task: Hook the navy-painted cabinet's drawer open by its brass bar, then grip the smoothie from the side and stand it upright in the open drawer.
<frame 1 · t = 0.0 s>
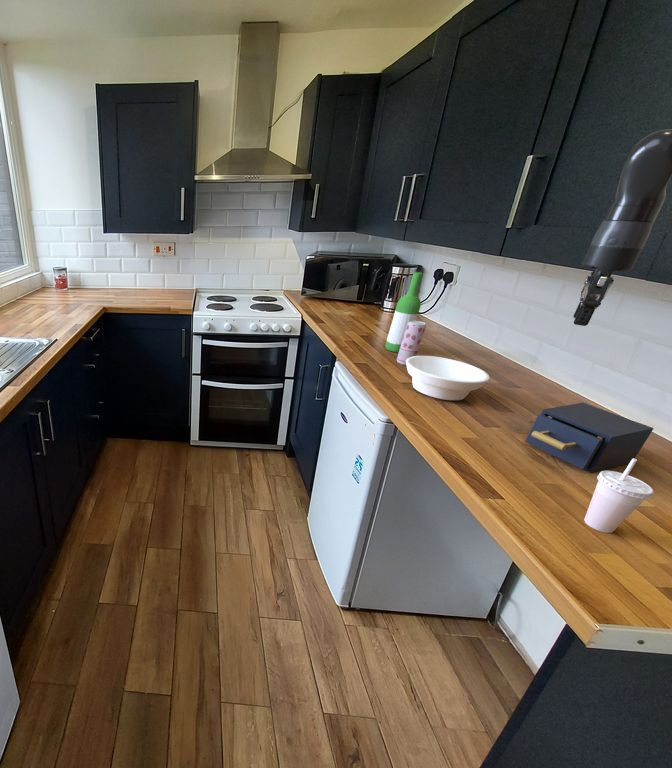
hand: (579, 321, 89), 29 cm above the worktop, tool pointing down, fingers open, 8 cm apart
cabinet: (577, 452, 94), on the worktop
drawer: (572, 438, 90), point 5 cm above the worktop, slide at 1.0 cm
smoothie: (597, 526, 72), on the worktop
wine bottle: (395, 350, 158), on the worktop
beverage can: (404, 363, 146), on the worktop
bowl: (437, 393, 122), on the worktop
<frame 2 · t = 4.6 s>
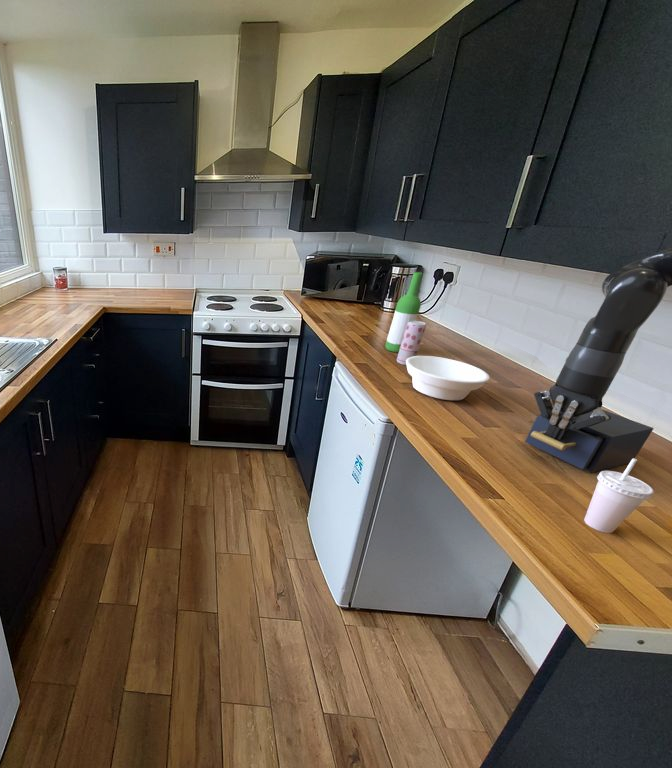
hand: (552, 440, 88), 5 cm above the worktop, tool pointing down, fingers closed
drawer: (571, 438, 90), point 5 cm above the worktop, slide at 1.1 cm, touching gripper
everything else where it was.
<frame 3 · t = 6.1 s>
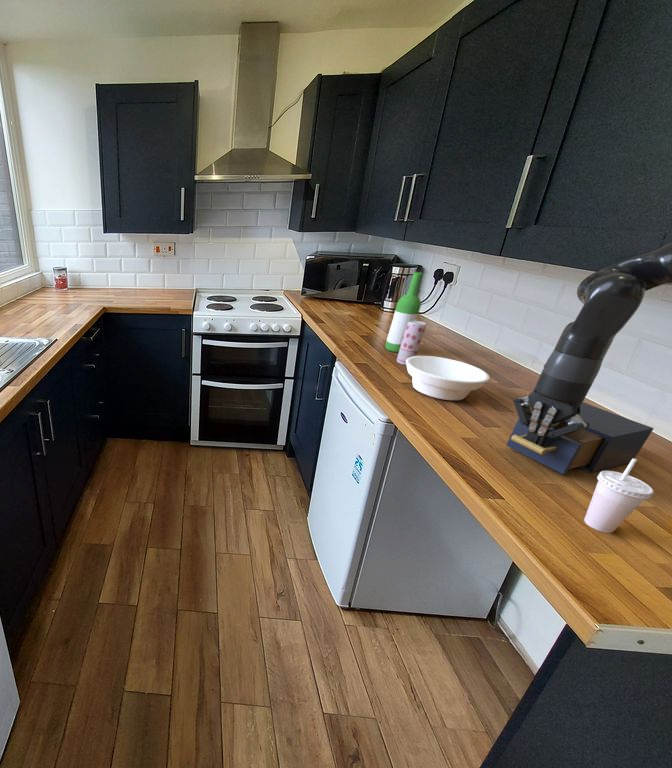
hand: (531, 447, 87), 4 cm above the worktop, tool pointing down, fingers closed
drawer: (552, 442, 88), point 5 cm above the worktop, slide at 7.5 cm
everything else where it was.
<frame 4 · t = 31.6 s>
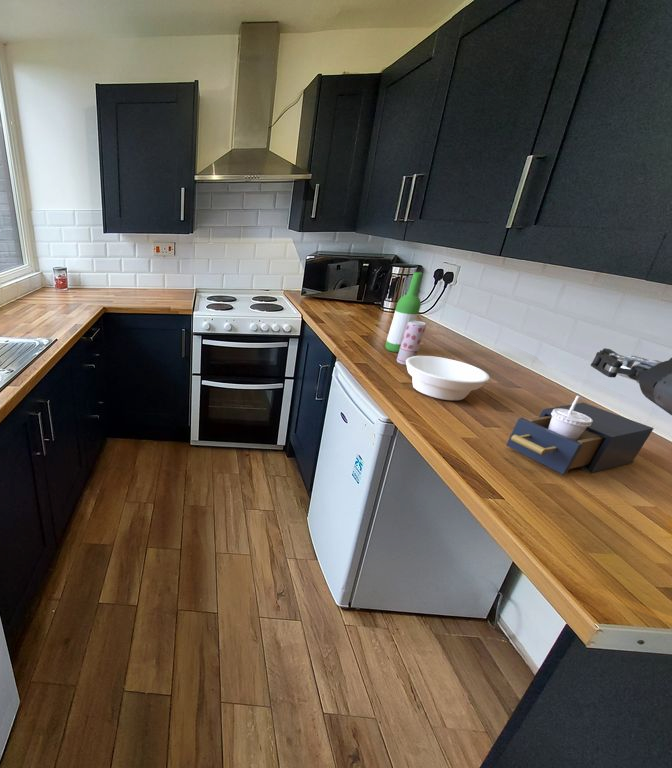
hand: (635, 358, 70), 28 cm above the worktop, tool horizontal, fingers open, 8 cm apart
drawer: (552, 442, 88), point 5 cm above the worktop, slide at 7.5 cm, touching smoothie
smoothie: (552, 453, 89), point 2 cm above the worktop, touching drawer
everything else where it was.
at the end: drawer slide at 7.5 cm; smoothie inside the target area in the drawer (0.9 cm from its centre), point 1.8 cm above the cabinet's base; smoothie tilted 0° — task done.
